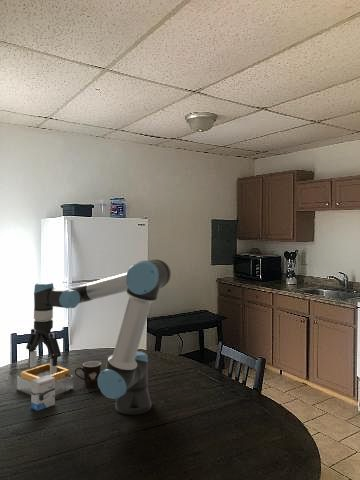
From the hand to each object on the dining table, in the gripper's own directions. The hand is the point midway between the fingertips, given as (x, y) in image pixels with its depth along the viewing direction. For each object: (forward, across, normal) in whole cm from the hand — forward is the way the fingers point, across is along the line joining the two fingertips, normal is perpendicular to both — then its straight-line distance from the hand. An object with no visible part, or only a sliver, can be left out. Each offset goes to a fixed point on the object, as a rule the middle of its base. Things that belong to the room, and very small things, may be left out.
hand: (42, 369), depth 166 cm
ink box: (+16, 0, 0) cm, 16 cm away
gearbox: (+16, +17, -12) cm, 26 cm away
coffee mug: (+16, +3, -28) cm, 32 cm away
